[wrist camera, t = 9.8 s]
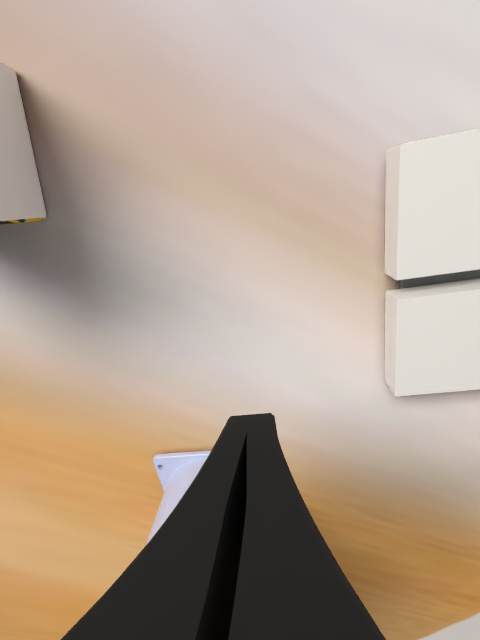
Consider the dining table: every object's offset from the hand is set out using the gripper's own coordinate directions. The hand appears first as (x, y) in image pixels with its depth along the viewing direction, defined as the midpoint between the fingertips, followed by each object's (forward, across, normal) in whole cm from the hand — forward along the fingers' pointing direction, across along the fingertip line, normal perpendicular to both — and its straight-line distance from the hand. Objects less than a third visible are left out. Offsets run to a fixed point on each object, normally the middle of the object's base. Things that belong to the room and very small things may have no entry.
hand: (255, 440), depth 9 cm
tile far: (+9, -7, +2) cm, 11 cm away
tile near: (+9, -7, -5) cm, 12 cm away
